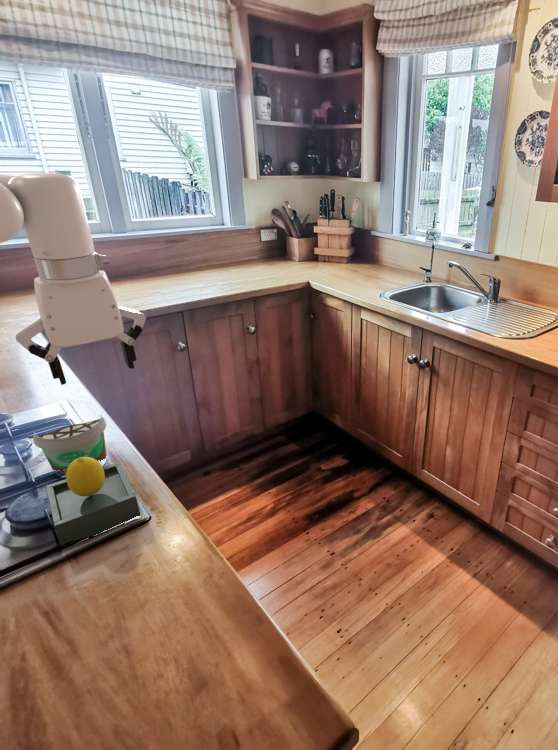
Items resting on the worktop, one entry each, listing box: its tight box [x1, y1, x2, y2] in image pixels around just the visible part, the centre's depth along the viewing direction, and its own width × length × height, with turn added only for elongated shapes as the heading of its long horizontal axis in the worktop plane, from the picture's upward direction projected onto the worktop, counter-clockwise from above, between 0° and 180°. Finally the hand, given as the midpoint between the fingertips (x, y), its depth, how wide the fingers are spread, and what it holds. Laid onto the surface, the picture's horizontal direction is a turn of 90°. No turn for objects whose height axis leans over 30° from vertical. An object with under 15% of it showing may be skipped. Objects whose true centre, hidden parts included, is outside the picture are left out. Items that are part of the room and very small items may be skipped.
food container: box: [32, 414, 108, 474], centre depth 91 cm, size 12×6×10 cm, turn 127°
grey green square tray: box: [45, 461, 142, 545], centre depth 82 cm, size 12×12×5 cm
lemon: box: [66, 457, 105, 496], centre depth 79 cm, size 6×6×8 cm
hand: (97, 373), depth 74 cm, fingers open, 9 cm apart
